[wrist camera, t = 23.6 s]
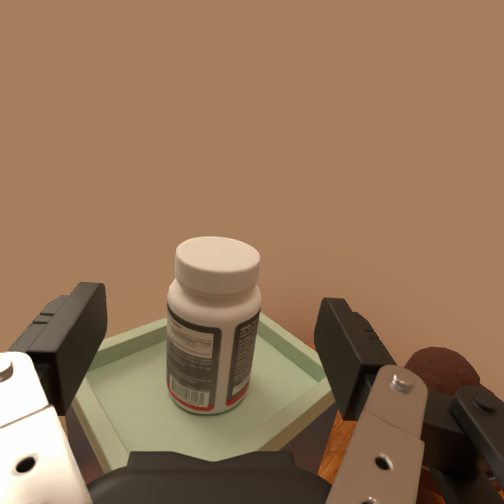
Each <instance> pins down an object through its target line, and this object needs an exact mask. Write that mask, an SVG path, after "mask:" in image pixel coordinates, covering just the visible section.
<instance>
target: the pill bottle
mask: <svg viewBox="0 0 504 504" xmlns="http://www.w3.org/2000/svg"><path fill="white" fill-rule="evenodd" d="M175 260H176V261H175V268H174V273H175V276H176V279H175V280H174V281H173V282H172V284H171V285H170V288H169V291H168V297H167V347H166V358H167V362H166V382H167V388H168V392H169V394H170V396H171V398H172V399H173V400H174V401H175V402H176V403H177V404H178V405H179V406H181V407H182V408H184V409H186V410H188V411H190V412H194V413H198V414H216V413H221V412H224V411H227V410H229V409H231V408H233V407H234V406H236V405H237V404H238V403H239V402H240V401H241V400H242V399H243V397H244V396H245V394H246V392H247V390H248V386H249V381H250V375H251V368H252V362H253V355H254V349H255V343H256V336H257V329H258V323H259V316H260V310H261V293H260V290H259V288H258V286H257V285H256V283H257V281H258V275H259V266H260V255H259V253H258V252H257V250H255V249H254V248H253V247H252V246H250V245H248V244H246V243H244V242H241V241H238V240H234V239H231V238H224V237H214V236H213V237H212V236H207V237H197V238H193V239H189V240H187V241H184V242H183V243H181V244H180V245H179V246H178V248H177V250H176V259H175Z"/></svg>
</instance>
